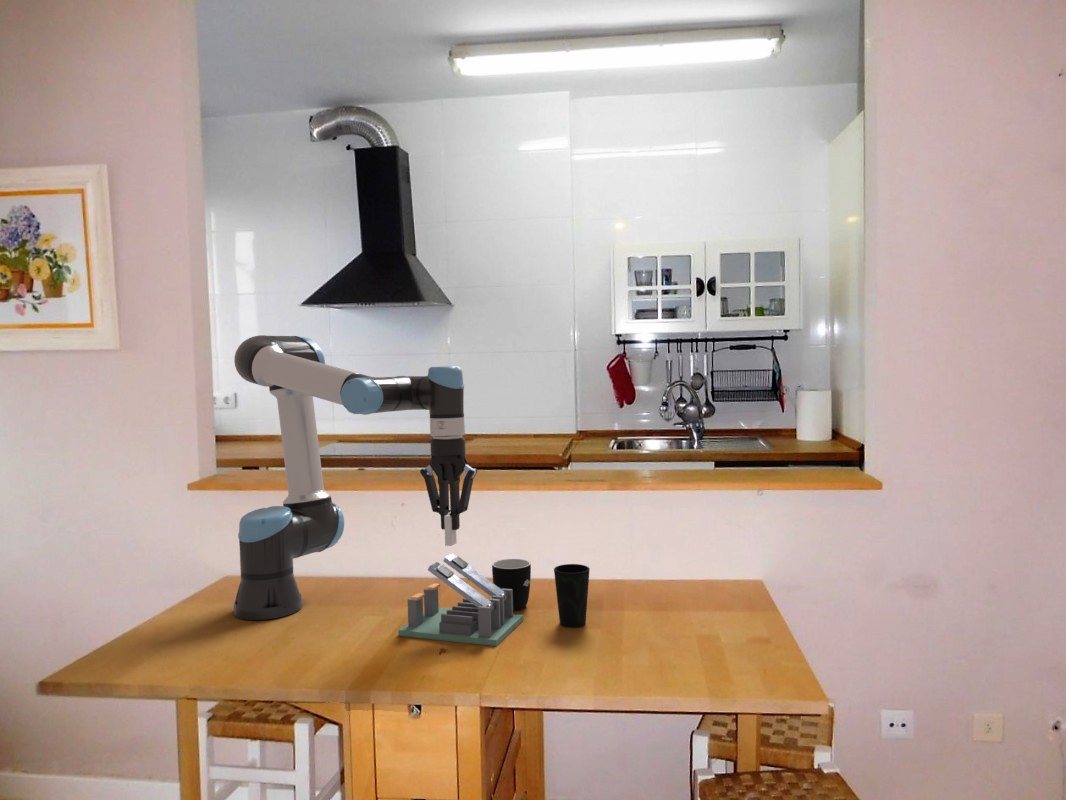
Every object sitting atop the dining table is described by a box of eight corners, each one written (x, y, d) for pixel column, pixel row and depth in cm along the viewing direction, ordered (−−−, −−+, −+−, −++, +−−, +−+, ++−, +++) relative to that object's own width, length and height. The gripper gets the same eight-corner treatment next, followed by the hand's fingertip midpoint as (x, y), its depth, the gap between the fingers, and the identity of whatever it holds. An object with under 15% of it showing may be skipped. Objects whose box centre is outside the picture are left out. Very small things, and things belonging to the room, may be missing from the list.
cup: (548, 626, 163) (547, 570, 163) (564, 615, 170) (563, 562, 170) (581, 631, 160) (580, 574, 159) (596, 620, 166) (595, 566, 166)
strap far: (442, 562, 166) (446, 555, 166) (449, 558, 170) (453, 551, 169) (500, 605, 162) (504, 598, 162) (506, 600, 166) (510, 593, 165)
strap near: (426, 571, 159) (430, 564, 159) (434, 566, 162) (438, 560, 162) (487, 616, 155) (491, 609, 155) (493, 610, 158) (497, 604, 158)
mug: (528, 613, 172) (527, 569, 172) (489, 612, 174) (488, 568, 173) (536, 597, 184) (535, 555, 184) (499, 596, 185) (498, 555, 185)
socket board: (398, 635, 159) (397, 599, 159) (432, 611, 175) (431, 579, 174) (496, 646, 152) (495, 608, 152) (523, 620, 167) (522, 586, 167)
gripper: (412, 438, 165) (416, 546, 166) (468, 438, 161) (471, 549, 162) (428, 435, 172) (431, 539, 173) (481, 435, 168) (484, 542, 169)
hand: (450, 544), depth 167 cm, fingers closed
